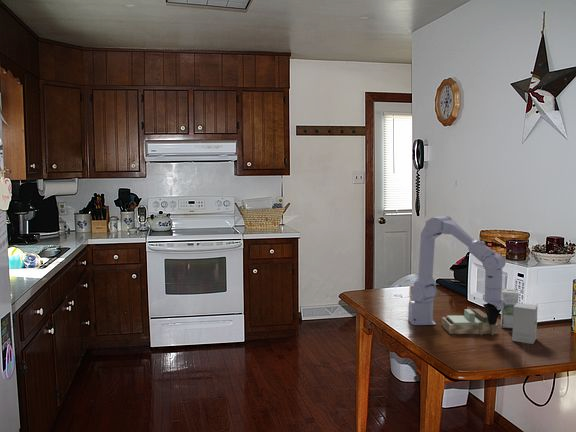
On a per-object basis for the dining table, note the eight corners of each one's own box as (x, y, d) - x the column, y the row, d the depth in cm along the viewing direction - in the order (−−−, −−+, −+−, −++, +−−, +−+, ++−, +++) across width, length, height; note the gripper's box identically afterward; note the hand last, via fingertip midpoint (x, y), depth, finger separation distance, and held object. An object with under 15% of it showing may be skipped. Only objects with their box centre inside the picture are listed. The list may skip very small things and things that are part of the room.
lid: (454, 324, 201) (454, 314, 201) (446, 317, 210) (447, 308, 210) (492, 324, 201) (493, 314, 201) (483, 317, 211) (483, 307, 210)
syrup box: (516, 325, 212) (517, 289, 211) (517, 329, 206) (518, 292, 205) (500, 323, 214) (501, 288, 212) (501, 328, 208) (502, 291, 207)
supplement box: (534, 344, 189) (535, 309, 188) (511, 340, 193) (512, 306, 192) (536, 338, 195) (538, 304, 194) (515, 335, 199) (516, 302, 198)
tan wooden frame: (450, 335, 200) (451, 322, 199) (440, 325, 212) (441, 313, 212) (499, 335, 200) (499, 322, 199) (486, 324, 213) (486, 313, 212)
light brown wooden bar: (483, 322, 200) (483, 317, 199) (472, 313, 212) (472, 308, 211) (490, 322, 200) (490, 317, 200) (478, 313, 212) (478, 308, 211)
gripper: (512, 292, 186) (511, 330, 187) (496, 283, 201) (495, 318, 202) (492, 292, 186) (491, 330, 187) (477, 283, 201) (476, 318, 202)
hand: (492, 324), depth 195 cm, fingers closed
